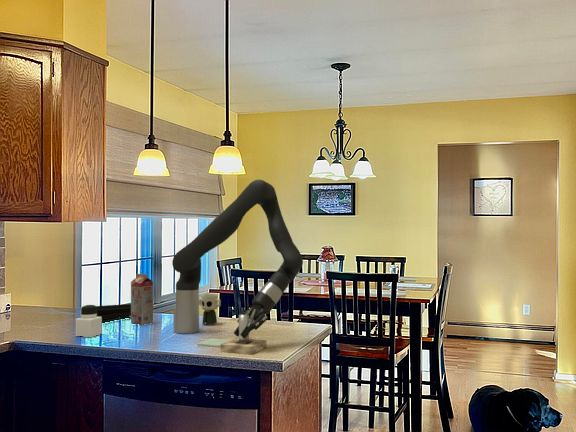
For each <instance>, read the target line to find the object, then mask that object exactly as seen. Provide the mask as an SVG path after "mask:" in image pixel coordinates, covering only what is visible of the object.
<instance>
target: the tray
mask: <svg viewBox="0 0 576 432" xmlns="http://www.w3.org/2000/svg"><path fill="white" fill-rule="evenodd" d="M96 306H97V315H96V317H102V323H105V322H110V321H114V320H119V319H125V318H130V319H131V303H123V304H111V305H110V304H109V305H107V304H106V305H96ZM119 317H120V318H119Z"/></svg>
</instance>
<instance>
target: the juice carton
mask: <svg viewBox="0 0 576 432" xmlns="http://www.w3.org/2000/svg"><path fill="white" fill-rule="evenodd" d="M135 276H136V277H135V278H134V279H132V280H131V281H130V304H131V316H130V324H131V323H132V324H139V325H144V324H150V323H153V324H154V281H153V280H152V279H150V278H149V277H148V274H146V273H136V275H135ZM150 325H151V324H150Z"/></svg>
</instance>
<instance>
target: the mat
mask: <svg viewBox="0 0 576 432" xmlns="http://www.w3.org/2000/svg"><path fill="white" fill-rule="evenodd" d="M230 340H231V339H222V338H221V339H220V338H208V339H206V340H203V341H200V342H197V343H196V345H197V346H201V347H212V348H221V344H223V343H225V342H228V341H230Z"/></svg>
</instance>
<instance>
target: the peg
mask: <svg viewBox="0 0 576 432" xmlns="http://www.w3.org/2000/svg"><path fill="white" fill-rule="evenodd" d="M238 319H239V323H238V326H239V336H238V338H239V344H249V339H250V333H249V334H248V336H247V337H246V338H243V337H242V336H241V335H240V334H241V333H242V331H243V330H244V329H245V327H246V326H247V325H248V323H249V315H248V314H241V313H240V314H238ZM247 327H248V326H247Z"/></svg>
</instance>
